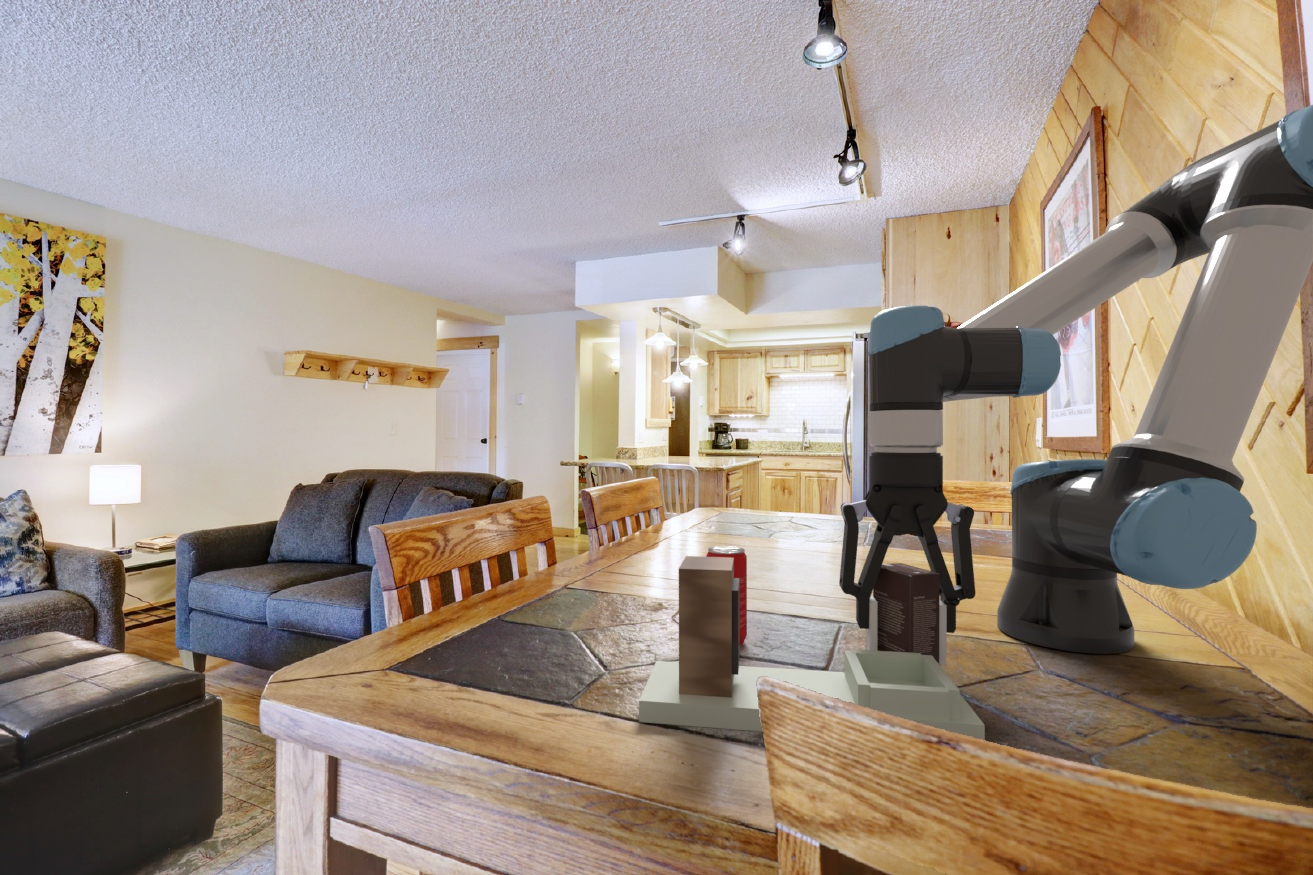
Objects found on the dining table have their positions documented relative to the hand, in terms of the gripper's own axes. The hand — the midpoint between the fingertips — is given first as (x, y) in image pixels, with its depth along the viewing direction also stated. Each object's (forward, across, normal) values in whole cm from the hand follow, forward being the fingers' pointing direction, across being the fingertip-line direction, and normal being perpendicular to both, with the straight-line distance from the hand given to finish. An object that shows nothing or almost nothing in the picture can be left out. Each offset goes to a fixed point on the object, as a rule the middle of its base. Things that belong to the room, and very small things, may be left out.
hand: (904, 658), depth 67 cm
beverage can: (+2, +20, -8) cm, 22 cm away
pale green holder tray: (+2, +12, +10) cm, 16 cm away
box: (+2, 0, 0) cm, 2 cm away
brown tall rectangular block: (0, +21, +10) cm, 23 cm away
